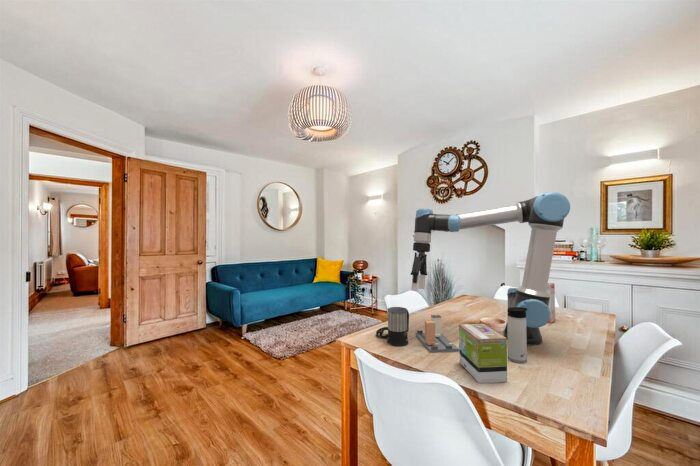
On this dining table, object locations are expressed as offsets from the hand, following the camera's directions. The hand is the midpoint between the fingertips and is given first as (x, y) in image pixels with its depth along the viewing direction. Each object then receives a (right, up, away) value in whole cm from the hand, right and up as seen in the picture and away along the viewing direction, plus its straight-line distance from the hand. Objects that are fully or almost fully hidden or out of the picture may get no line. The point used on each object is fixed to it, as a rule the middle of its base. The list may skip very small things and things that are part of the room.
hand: (418, 289), depth 131 cm
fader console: (+7, -23, -3) cm, 24 cm away
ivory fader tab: (+9, -21, +2) cm, 23 cm away
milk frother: (-12, -23, +2) cm, 26 cm away
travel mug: (+33, -23, -20) cm, 45 cm away
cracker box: (+74, -23, +30) cm, 83 cm away
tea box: (+15, -23, -30) cm, 41 cm away
